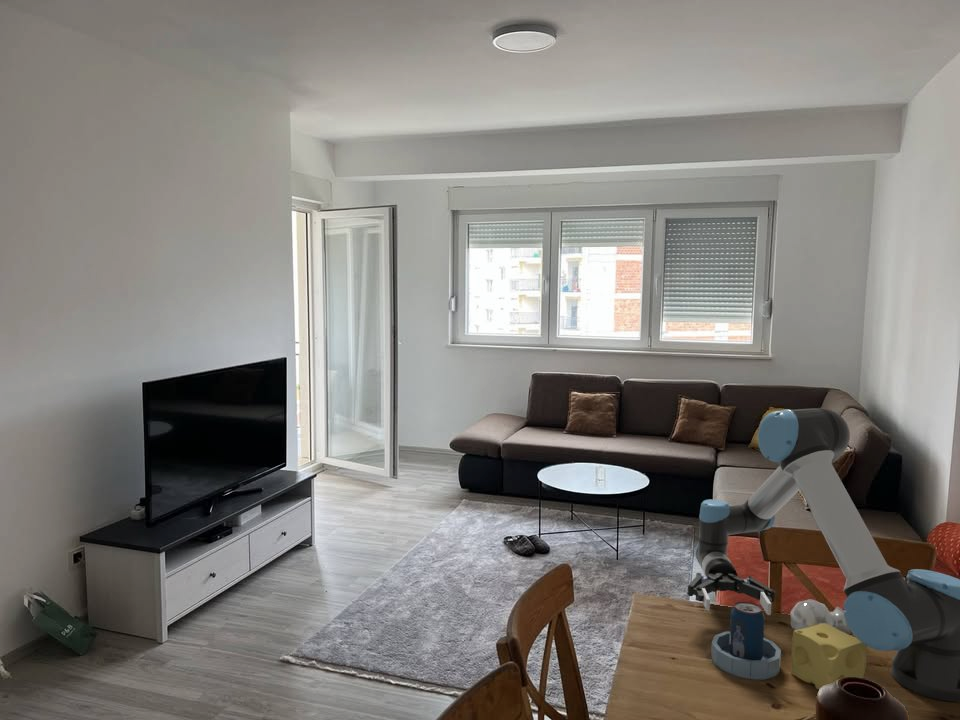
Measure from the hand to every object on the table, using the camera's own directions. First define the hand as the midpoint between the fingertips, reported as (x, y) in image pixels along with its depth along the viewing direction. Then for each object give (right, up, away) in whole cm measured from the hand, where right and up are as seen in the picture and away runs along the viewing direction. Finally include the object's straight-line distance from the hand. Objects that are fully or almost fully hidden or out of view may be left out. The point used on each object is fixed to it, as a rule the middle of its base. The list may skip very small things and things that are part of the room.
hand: (738, 607), depth 164 cm
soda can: (-1, -9, -6) cm, 11 cm away
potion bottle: (+22, -10, +6) cm, 24 cm away
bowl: (-1, -10, -6) cm, 12 cm away
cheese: (+14, -11, -13) cm, 22 cm away
